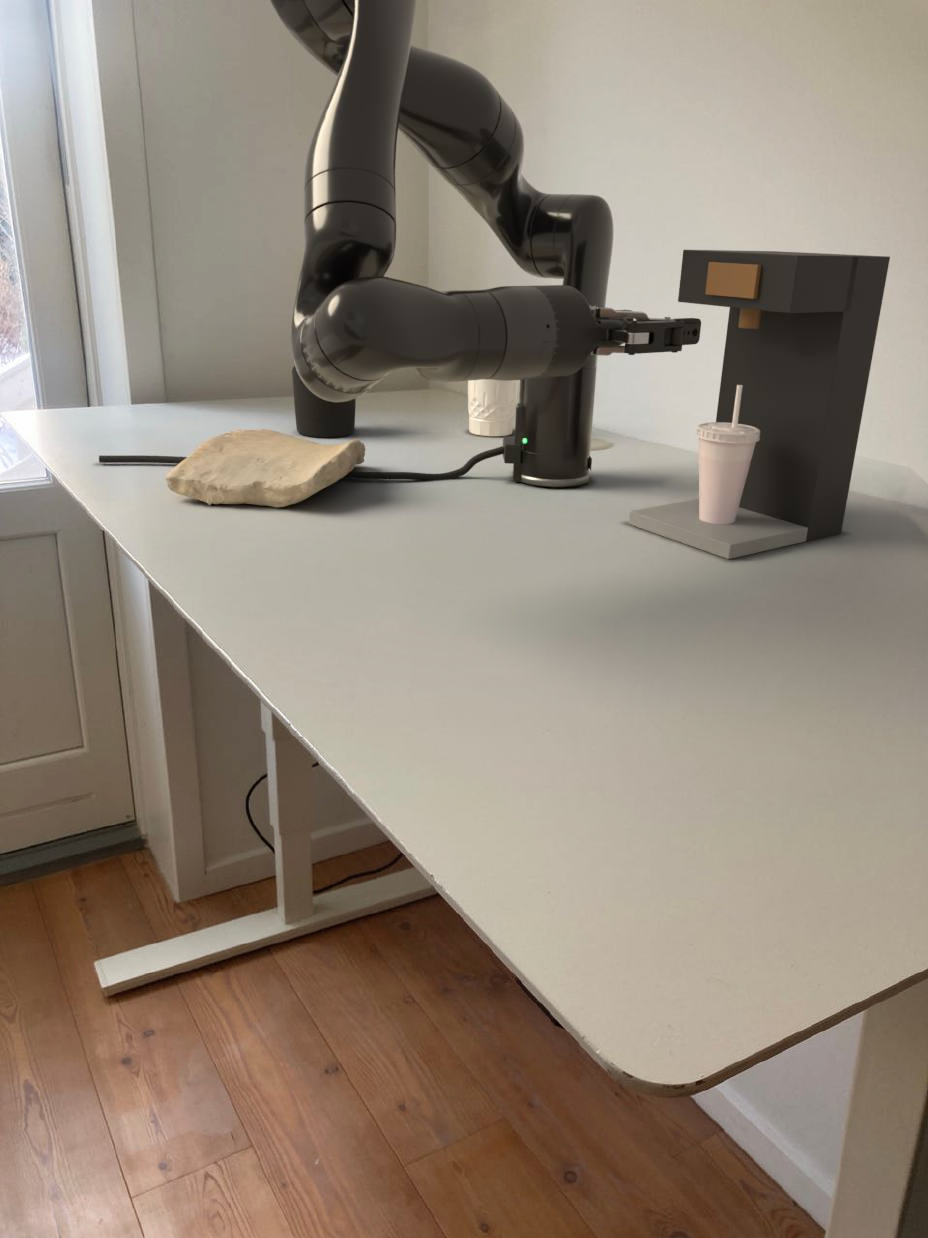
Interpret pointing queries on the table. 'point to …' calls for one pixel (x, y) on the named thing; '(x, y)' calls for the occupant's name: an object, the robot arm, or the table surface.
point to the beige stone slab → (262, 468)
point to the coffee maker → (784, 390)
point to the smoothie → (724, 465)
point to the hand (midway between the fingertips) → (662, 326)
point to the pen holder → (321, 413)
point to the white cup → (492, 406)
